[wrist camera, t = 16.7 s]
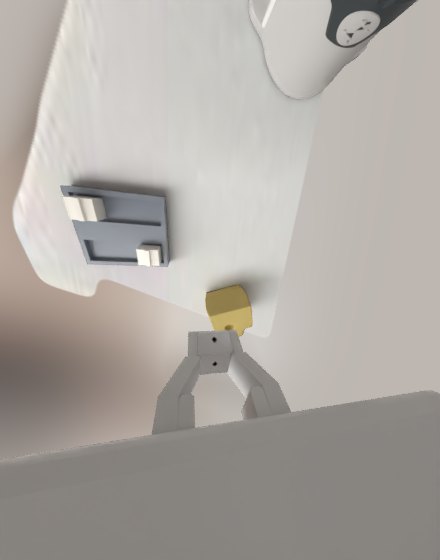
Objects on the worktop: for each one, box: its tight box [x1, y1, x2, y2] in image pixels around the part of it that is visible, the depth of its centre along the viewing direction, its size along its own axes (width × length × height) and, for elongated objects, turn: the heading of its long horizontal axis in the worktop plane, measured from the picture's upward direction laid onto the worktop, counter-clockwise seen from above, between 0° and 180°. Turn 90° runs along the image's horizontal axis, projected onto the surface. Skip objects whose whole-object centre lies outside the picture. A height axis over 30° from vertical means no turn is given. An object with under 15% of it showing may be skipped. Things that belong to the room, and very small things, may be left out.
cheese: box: [205, 285, 252, 337], centre depth 42 cm, size 10×11×10 cm
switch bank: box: [60, 186, 169, 267], centre depth 31 cm, size 14×16×3 cm
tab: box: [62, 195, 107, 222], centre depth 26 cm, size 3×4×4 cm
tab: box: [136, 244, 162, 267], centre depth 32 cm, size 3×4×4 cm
